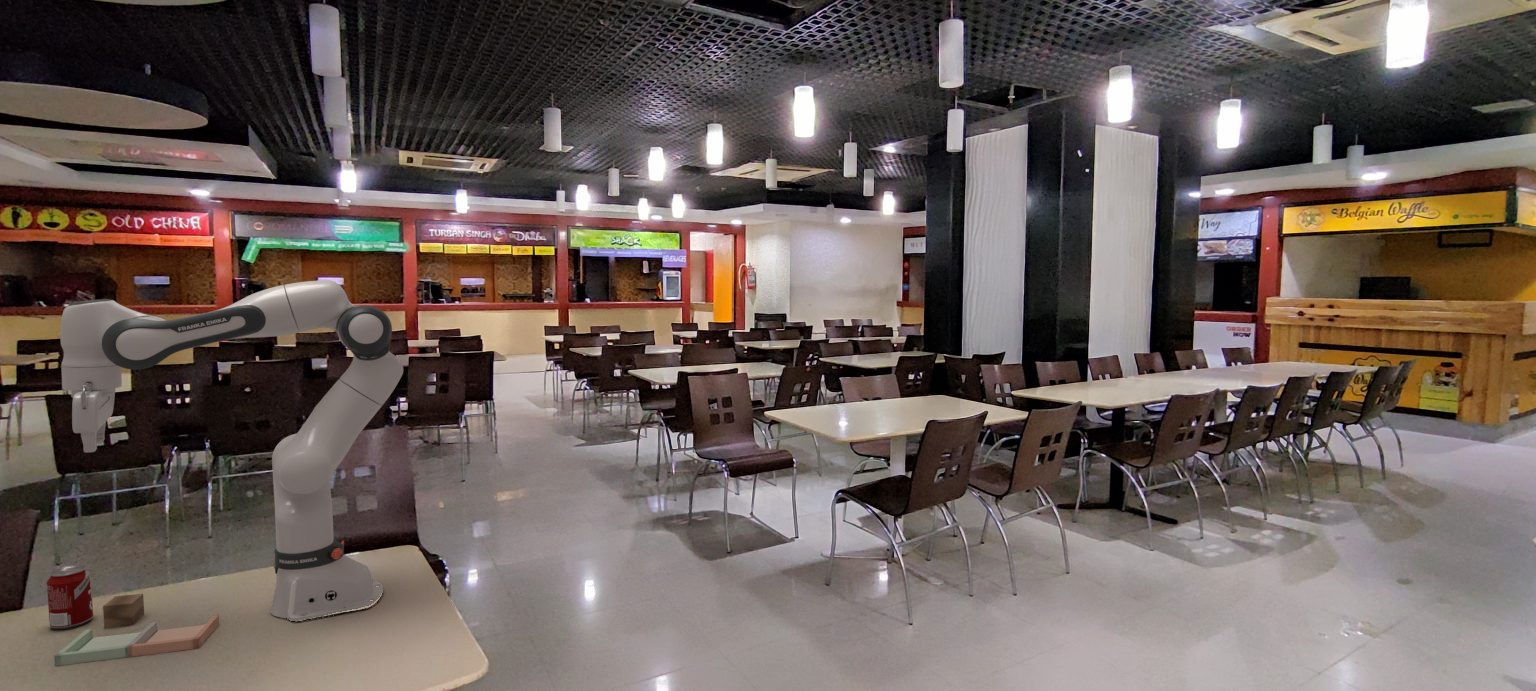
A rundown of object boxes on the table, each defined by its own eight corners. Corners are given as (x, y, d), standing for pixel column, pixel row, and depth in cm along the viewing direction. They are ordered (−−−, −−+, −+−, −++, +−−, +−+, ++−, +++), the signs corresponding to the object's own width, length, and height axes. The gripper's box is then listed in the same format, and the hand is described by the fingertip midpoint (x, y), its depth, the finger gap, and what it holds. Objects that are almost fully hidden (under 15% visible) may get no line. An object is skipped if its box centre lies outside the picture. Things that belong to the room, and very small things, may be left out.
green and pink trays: (219, 623, 157) (218, 614, 157) (198, 648, 147) (198, 638, 147) (86, 638, 149) (86, 629, 149) (54, 666, 139) (54, 656, 139)
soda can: (66, 632, 152) (62, 577, 151) (41, 629, 153) (37, 574, 152) (101, 618, 158) (98, 565, 157) (77, 614, 160) (73, 562, 159)
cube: (144, 615, 160) (143, 593, 160) (133, 625, 156) (131, 603, 155) (116, 618, 159) (115, 596, 158) (104, 628, 154) (102, 606, 154)
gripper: (105, 385, 139) (107, 456, 140) (120, 372, 156) (121, 436, 157) (60, 387, 136) (62, 459, 137) (80, 373, 152) (82, 438, 153)
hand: (94, 446), depth 147 cm, fingers open, 8 cm apart
